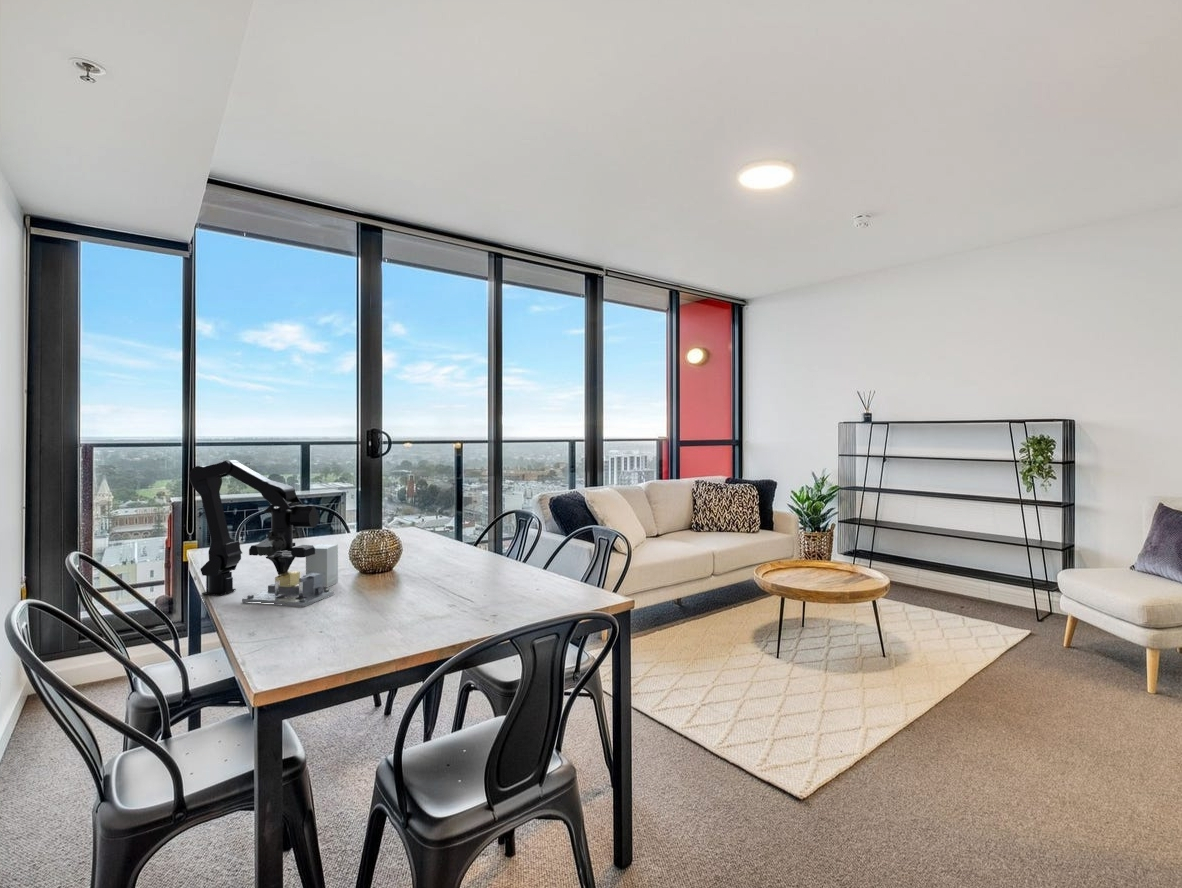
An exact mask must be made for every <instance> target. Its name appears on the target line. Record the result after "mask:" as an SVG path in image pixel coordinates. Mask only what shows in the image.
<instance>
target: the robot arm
mask: <svg viewBox="0 0 1182 888" xmlns="http://www.w3.org/2000/svg"><path fill="white" fill-rule="evenodd" d="M228 476H231V477H232V478H234V479H236V480H238V481H239V482H241V483H243V484H244V485H247V486H248V487H250V488H252V489H254V490H255V491H257V492H258V493H260V494H261V496H262V497H263V498H264V500H266V501H267V502H268V503H269V506H268V507H267V508H265V510H264V511H263V512H264V513H268V514H271V516H270V517H271V529H270V530H269V531H268V533H267V537H266V538H265V539H263V540H261V541H260V542H259V543H256V544H253V545H250V547H249V549H248V556H259V557H262V556H265V558H266V559H268V560H269V561H271V562H272V563H273V566H274V567H275V570H276V572H277V575H278V576H279V574H282V573H286V572H289V569H290V567H291V565H292V563H293V562H294V561H295V559H296V558H298V559H299V558H306V557H307V556H310V555H314V554H315V548H314V544H312V545H310V544H300V545H297V546H296V542H293V539H294V537H293V534H295V533H296V529H295V528H303V529H304V528H305V529H307V528H311V529H313V528H316V527H317V526H318V525H319V521H320V515H319V512H318V510H317V509H316V505H315V504H309V505H304V503H303V501H302V500H301V499H300V498H299V497H298V495H297V494H296V493H297V492H296V489H295V488H294V487H293V486H292V485H289V484H286V483H283V482H279V481H275V480H272V479H269V478H267V477H266V476H263V474H261V473H258V471H257V472H256V471H255V470H252V468H249V467H248V466H247V465H244V464H242V463H240V461H238V460H236V459H232V460H231V459H230V460H223V461H221V462H217V463H214V464H210V465H195V466H193V467H192V468H191V470H190V471H189V472H188V478H189V481H190V484H191V487H192V488H193V489H194V490H195V491H196V493H197V494H198V495H199V496H200V499H201V503H202V507H203V512H204V516H205V520H206V525H207V528H208V532H209V533H208V534H209V536H210V537H209V538H210V541H211V542H210V545H209V548H208V560H207V562H206V563H204V564H203V566H201V568H200V569H199V570H200V572H201V575H202V576H206V577H205V578H206V581H205V587H206V588H205V591H204V592H202V593H201V594H202V595H205V596H223V595H225V593H226V594H229V593H232V592H235V591H237V590H236V588H234V587H233V585H234V584H233V583H234V582H233V581H234V580H233V579H234V578H233V574H232V573H233V572H232V571H235V570H237V569H236V568H237V566H238V564H239V562H240V561H241V560H242V555H243V550H241V544H240V541H239V540H236V541H234V540H233V539H232V538H231V536H230V532H229V528H228V523H227V520H226V515H225V512H224V507H223V502H222V499H221V494H220V492H221V488H222V485H223V479H222V478H224V477H225V478H226V477H228ZM293 527H294V528H293ZM234 590H235V591H234ZM231 591H232V592H231ZM228 592H229V593H228ZM222 594H223V595H222Z"/></svg>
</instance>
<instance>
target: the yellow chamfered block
mask: <svg viewBox="0 0 1182 888" xmlns="http://www.w3.org/2000/svg"><path fill="white" fill-rule="evenodd" d="M300 572H301V571H289V570H288V572H286V573H282V574H279V575H278V576H275V577H274V584H275V596H278V595H279V587H292V586H298V585H299V578H301V573H300Z"/></svg>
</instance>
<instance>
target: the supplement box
mask: <svg viewBox="0 0 1182 888" xmlns="http://www.w3.org/2000/svg"><path fill="white" fill-rule="evenodd" d="M313 546H314V548H315V554H314V555H310V556H307V557H305V575H307V574H310V573H323V588H329V587H331V586H333V585H335V583H336V584H338V583H339V551H338V549H339V547H338V546H339V545H338V544H324V543H323V544H321V543H318V544H313Z"/></svg>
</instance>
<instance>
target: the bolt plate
mask: <svg viewBox="0 0 1182 888" xmlns="http://www.w3.org/2000/svg"><path fill="white" fill-rule="evenodd" d="M333 594H334V595H335V590H330V588H324V587H323V573H310V574H307V575H306V574H304V575H302V577H300V578H299V584H298V585H295V586H292V587H279V595H278V596H275V583H274V584H273V583H272V584H269V585H267V590H266V589H265V590H264V591H263V590H262V591H260V592H258V593H254V594H248V595H247V596H246V597H242V599H241V603H242V602H261V603H274V604H282V605H290V606H289V607H296V606H301V607H300V608H305V607H308V606H310V605H312V604H315V603H317V602H319V601H318V600H320V601H322V600H324V599H326V597H327V598H329V597H331V595H332V596H334V595H333ZM328 596H329V597H328ZM323 598H324V599H323ZM321 599H322V600H321ZM316 601H317V602H316ZM314 602H315V603H314ZM309 604H310V605H309ZM282 605H281V606H282ZM307 605H308V606H307ZM304 606H305V607H304Z"/></svg>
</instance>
